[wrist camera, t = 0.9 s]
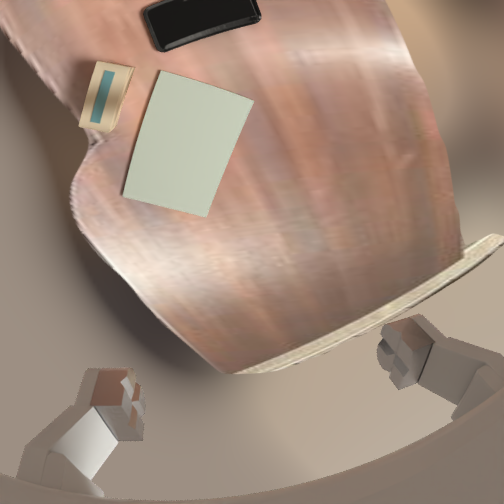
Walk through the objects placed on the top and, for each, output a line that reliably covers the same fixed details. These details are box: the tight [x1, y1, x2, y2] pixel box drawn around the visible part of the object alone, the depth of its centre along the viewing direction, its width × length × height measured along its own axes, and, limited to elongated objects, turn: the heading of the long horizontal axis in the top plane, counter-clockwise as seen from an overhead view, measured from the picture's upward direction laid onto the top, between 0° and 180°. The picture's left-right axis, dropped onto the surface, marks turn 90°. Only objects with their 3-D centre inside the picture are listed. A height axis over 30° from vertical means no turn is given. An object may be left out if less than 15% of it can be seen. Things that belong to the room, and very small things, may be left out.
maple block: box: [79, 61, 135, 133], centre depth 32 cm, size 9×4×5 cm, turn 157°
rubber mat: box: [123, 71, 254, 217], centre depth 41 cm, size 20×14×1 cm
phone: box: [143, 0, 261, 52], centre depth 30 cm, size 8×1×15 cm
